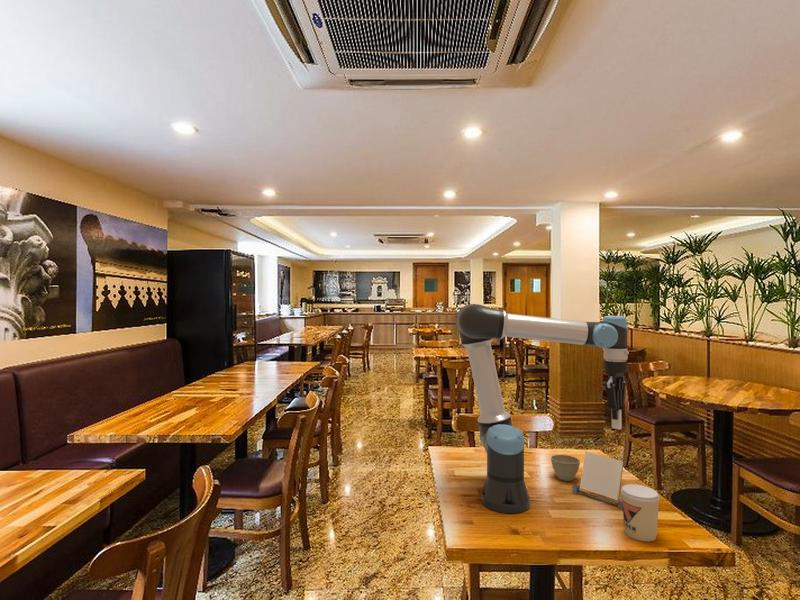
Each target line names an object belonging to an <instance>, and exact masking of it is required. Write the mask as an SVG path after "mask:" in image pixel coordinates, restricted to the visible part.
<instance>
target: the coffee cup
mask: <svg viewBox="0 0 800 600" xmlns="http://www.w3.org/2000/svg"><path fill="white" fill-rule="evenodd" d="M620 494H621V499H622V505H623V510H622V516H623V517H622V518H623V527H624V532H625V534H626V535H627V536H629V538H632V539H634V540H637V541H641V542H652V541H653V542H654V541H656V539H657V531H658V523H659V522H658V520H659V519H658V517H659V506H660V505H659V504H660V503H659V501H660V495H659V493H658V491H656V490H655V488H651V487H649V486H645V485H643V484H625V485H623V486H622V488H620Z"/></svg>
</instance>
